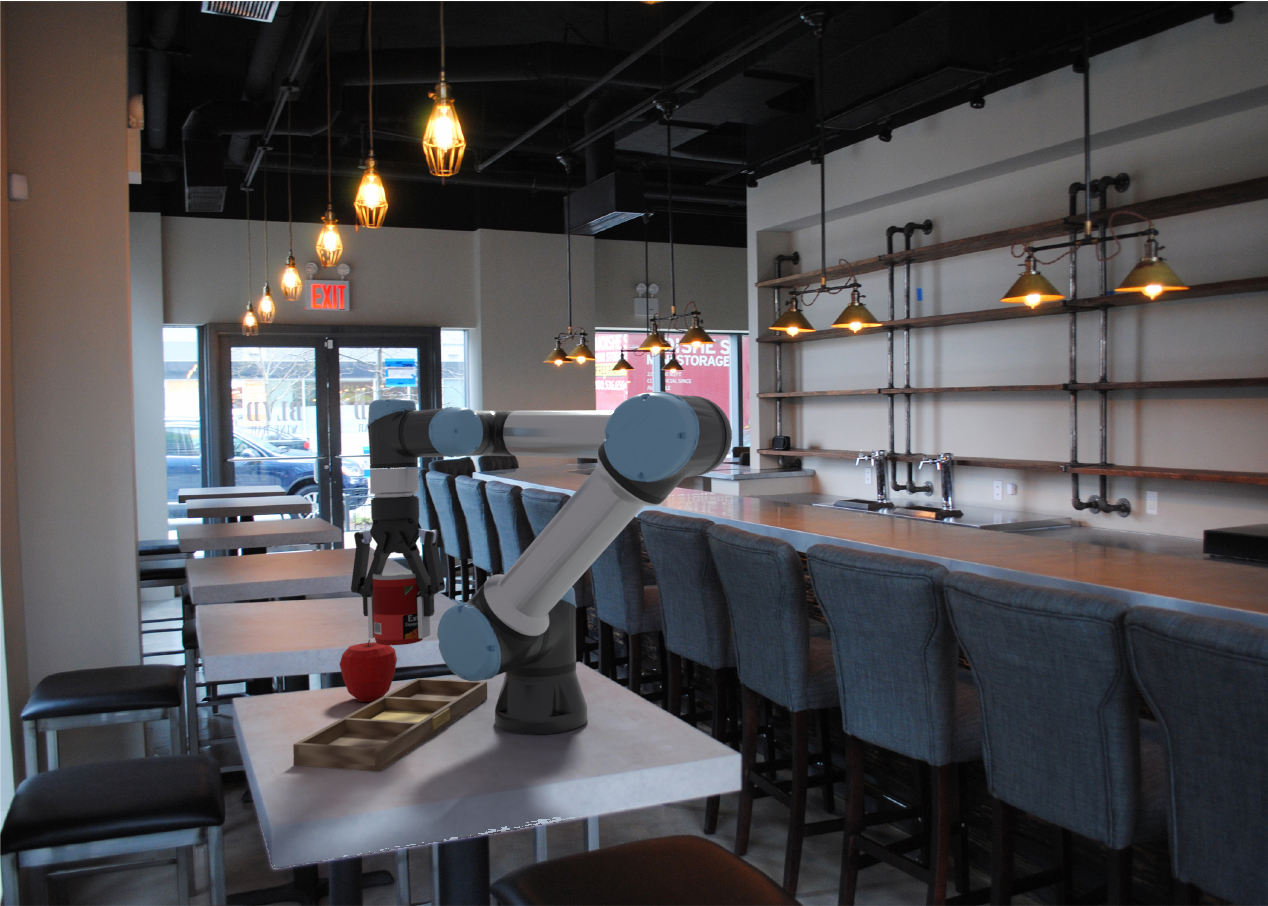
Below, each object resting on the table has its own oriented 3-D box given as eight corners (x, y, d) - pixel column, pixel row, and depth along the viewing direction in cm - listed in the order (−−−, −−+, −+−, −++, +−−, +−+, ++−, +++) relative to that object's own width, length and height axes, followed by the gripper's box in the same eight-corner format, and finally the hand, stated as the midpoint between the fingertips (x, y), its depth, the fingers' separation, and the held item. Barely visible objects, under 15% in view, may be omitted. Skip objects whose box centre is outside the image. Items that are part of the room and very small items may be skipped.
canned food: (412, 645, 150) (410, 575, 150) (365, 645, 151) (363, 576, 151) (432, 636, 157) (430, 569, 157) (387, 636, 159) (385, 569, 159)
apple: (388, 689, 179) (388, 631, 179) (404, 701, 171) (403, 640, 171) (334, 697, 174) (334, 637, 174) (348, 709, 166) (347, 646, 166)
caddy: (488, 698, 172) (488, 681, 172) (382, 771, 134) (381, 750, 134) (417, 694, 175) (417, 678, 175) (293, 765, 137) (293, 744, 137)
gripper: (464, 492, 156) (469, 632, 155) (348, 495, 160) (352, 631, 160) (445, 494, 148) (449, 642, 148) (324, 497, 153) (328, 640, 153)
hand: (399, 636), depth 154 cm, fingers closed on canned food, 8 cm apart
